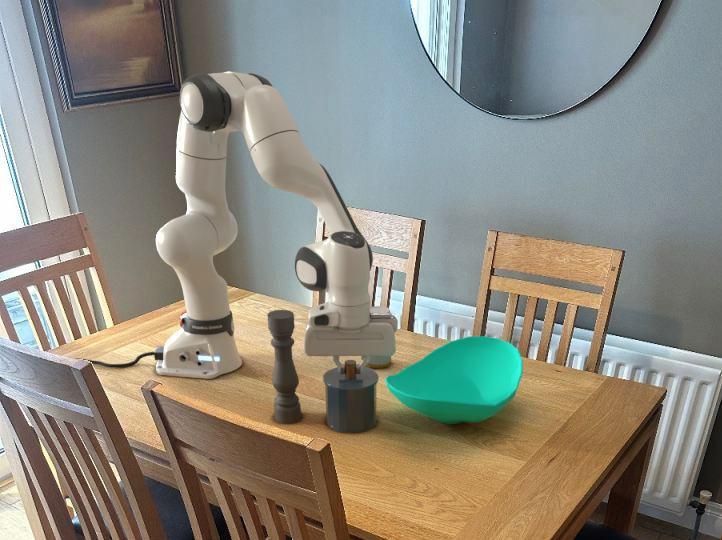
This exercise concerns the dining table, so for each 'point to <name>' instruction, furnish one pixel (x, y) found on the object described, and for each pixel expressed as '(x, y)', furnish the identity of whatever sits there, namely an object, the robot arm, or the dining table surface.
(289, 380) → the candle holder
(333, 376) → the lid
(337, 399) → the crock
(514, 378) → the table top decor
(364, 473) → the dining table surface
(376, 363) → the bottle
